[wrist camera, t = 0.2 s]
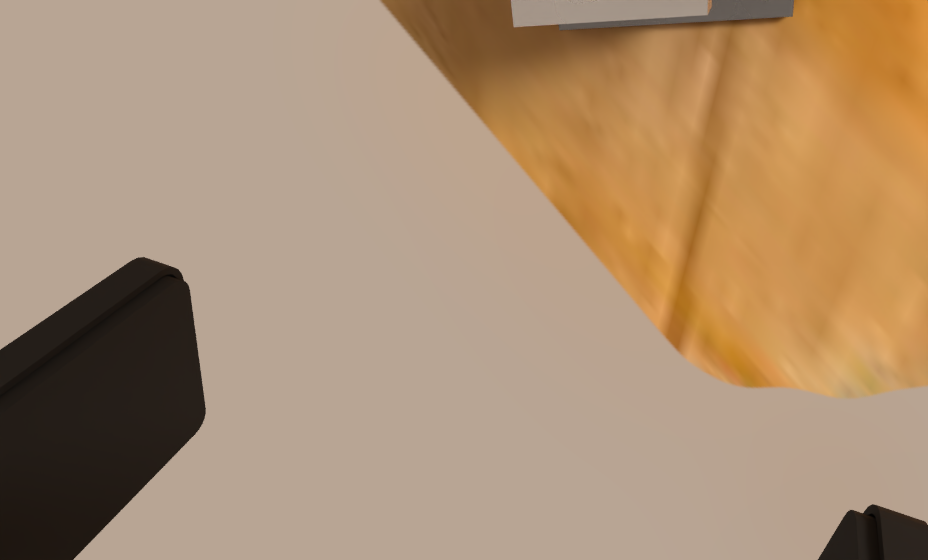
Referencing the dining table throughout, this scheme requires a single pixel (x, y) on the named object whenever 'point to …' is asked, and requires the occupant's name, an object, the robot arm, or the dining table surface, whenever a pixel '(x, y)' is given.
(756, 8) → the tester
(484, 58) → the dining table surface
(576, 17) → the grey flanged block
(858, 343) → the dining table surface
